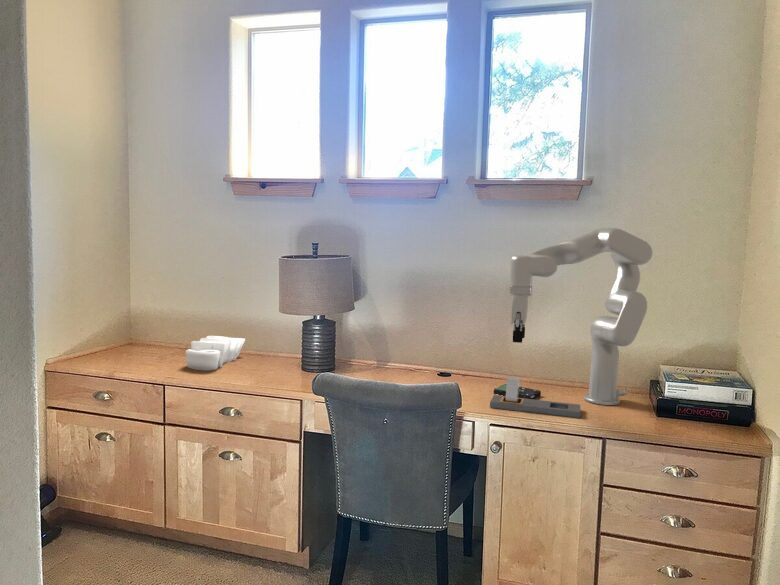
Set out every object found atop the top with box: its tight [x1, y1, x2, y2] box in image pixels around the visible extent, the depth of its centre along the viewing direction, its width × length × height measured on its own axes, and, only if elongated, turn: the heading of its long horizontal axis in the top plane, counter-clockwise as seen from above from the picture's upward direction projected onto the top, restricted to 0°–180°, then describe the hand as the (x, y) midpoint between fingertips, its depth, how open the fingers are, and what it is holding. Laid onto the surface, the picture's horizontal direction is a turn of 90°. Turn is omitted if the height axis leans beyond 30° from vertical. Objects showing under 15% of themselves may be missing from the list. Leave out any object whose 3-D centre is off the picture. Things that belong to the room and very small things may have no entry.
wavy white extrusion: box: [185, 335, 246, 372], centre depth 267 cm, size 35×16×11 cm, turn 169°
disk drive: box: [493, 383, 542, 400], centre depth 232 cm, size 10×3×15 cm
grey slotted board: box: [489, 394, 581, 419], centre depth 214 cm, size 30×10×2 cm, turn 73°
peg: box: [505, 376, 521, 403], centre depth 216 cm, size 4×4×10 cm
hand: (518, 339), depth 215 cm, fingers open, 9 cm apart
